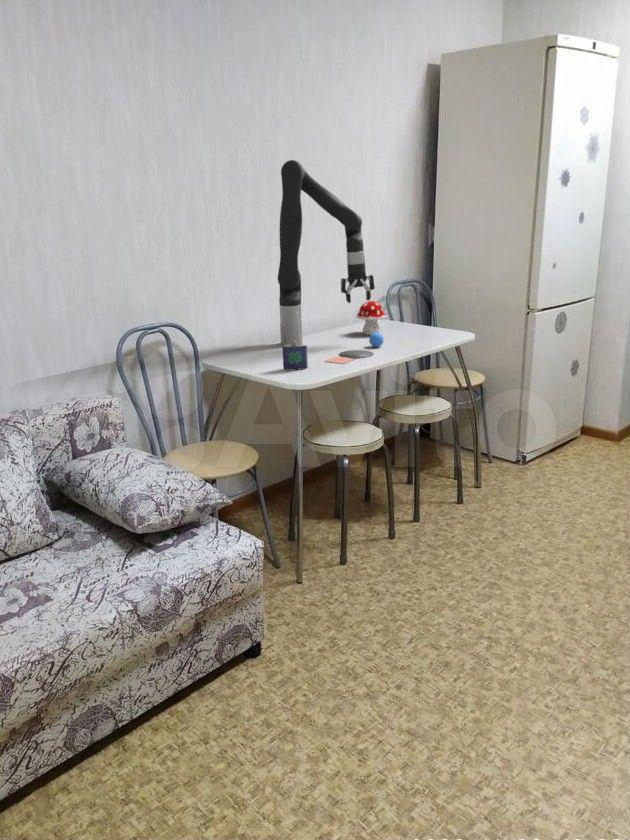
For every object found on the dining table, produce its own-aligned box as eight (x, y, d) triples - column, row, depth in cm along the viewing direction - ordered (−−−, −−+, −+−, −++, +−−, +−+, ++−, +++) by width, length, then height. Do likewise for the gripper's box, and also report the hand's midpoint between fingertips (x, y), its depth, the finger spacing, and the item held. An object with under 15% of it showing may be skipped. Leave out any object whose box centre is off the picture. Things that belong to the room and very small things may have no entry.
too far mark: (336, 356, 284) (336, 356, 284) (355, 359, 279) (355, 358, 279) (324, 361, 277) (324, 361, 277) (343, 364, 272) (343, 363, 272)
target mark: (339, 358, 281) (339, 358, 281) (338, 351, 294) (338, 350, 294) (374, 357, 281) (374, 357, 281) (372, 350, 294) (372, 349, 294)
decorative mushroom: (387, 331, 332) (387, 298, 327) (385, 337, 319) (385, 303, 314) (357, 331, 334) (357, 299, 329) (354, 337, 321) (354, 303, 316)
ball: (369, 348, 297) (369, 334, 295) (368, 345, 303) (368, 331, 301) (384, 348, 297) (384, 334, 295) (382, 345, 303) (382, 331, 301)
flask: (307, 367, 269) (306, 339, 266) (308, 369, 267) (307, 341, 263) (283, 368, 269) (281, 340, 265) (283, 370, 266) (282, 342, 263)
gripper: (368, 260, 303) (371, 298, 308) (337, 264, 300) (340, 302, 304) (375, 261, 296) (377, 300, 301) (342, 264, 293) (345, 304, 297)
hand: (358, 301), depth 303 cm, fingers open, 8 cm apart
